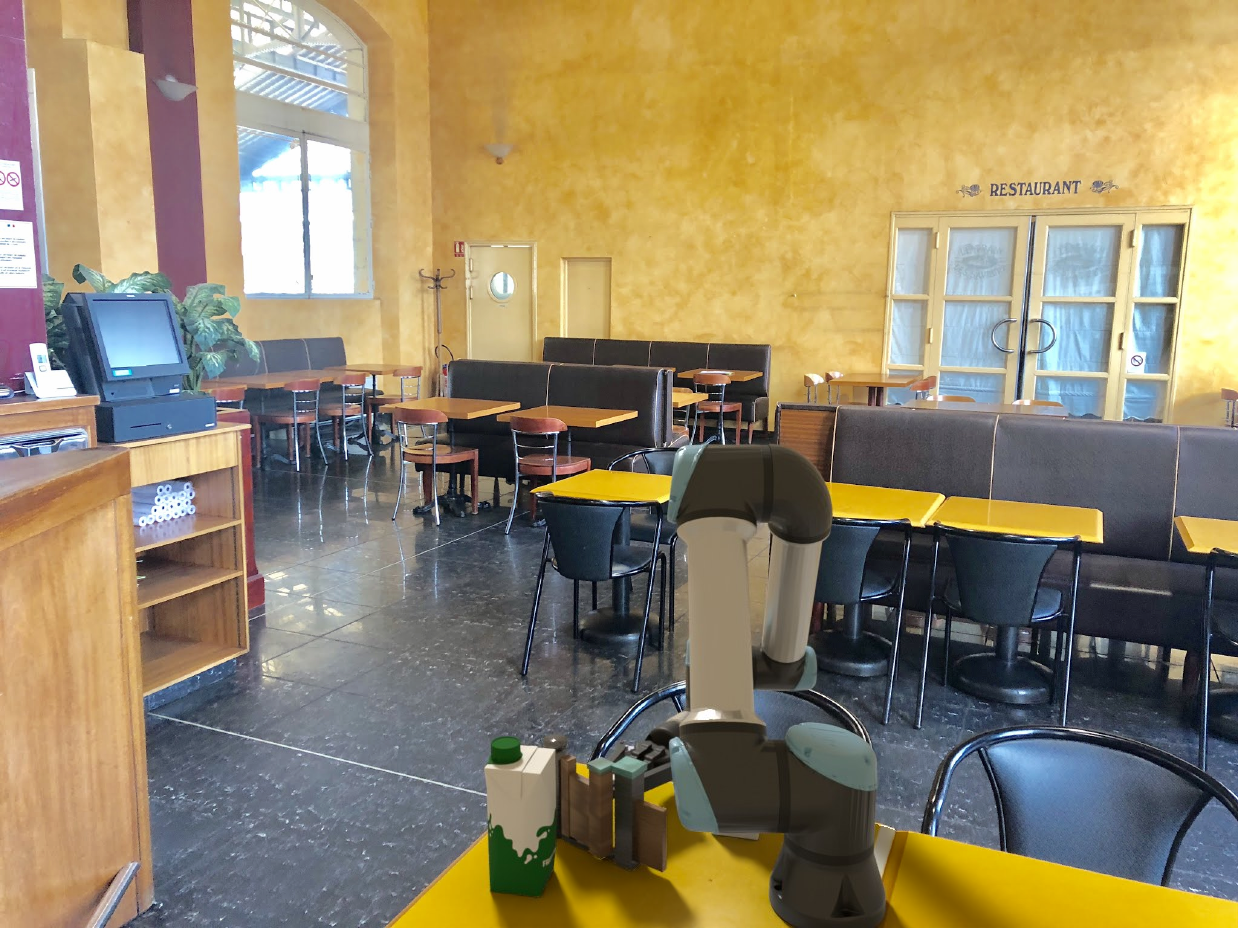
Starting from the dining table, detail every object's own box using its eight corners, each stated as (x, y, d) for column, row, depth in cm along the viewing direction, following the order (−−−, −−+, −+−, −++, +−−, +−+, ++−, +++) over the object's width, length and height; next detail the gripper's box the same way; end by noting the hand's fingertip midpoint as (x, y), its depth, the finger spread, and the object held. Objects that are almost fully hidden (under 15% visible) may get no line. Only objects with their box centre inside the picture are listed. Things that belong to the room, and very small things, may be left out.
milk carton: (502, 858, 135) (499, 727, 132) (562, 866, 134) (561, 732, 131) (481, 894, 127) (477, 754, 124) (545, 902, 125) (544, 761, 122)
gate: (615, 852, 135) (614, 763, 133) (600, 860, 133) (600, 769, 131) (572, 827, 141) (572, 742, 139) (558, 834, 139) (557, 748, 137)
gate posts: (671, 871, 132) (672, 770, 130) (657, 883, 129) (657, 781, 127) (554, 824, 145) (553, 732, 142) (539, 834, 142) (538, 740, 140)
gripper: (710, 774, 153) (624, 838, 134) (643, 752, 160) (554, 810, 142) (710, 730, 152) (624, 789, 133) (644, 711, 159) (554, 764, 140)
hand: (588, 800), depth 137 cm, fingers closed
